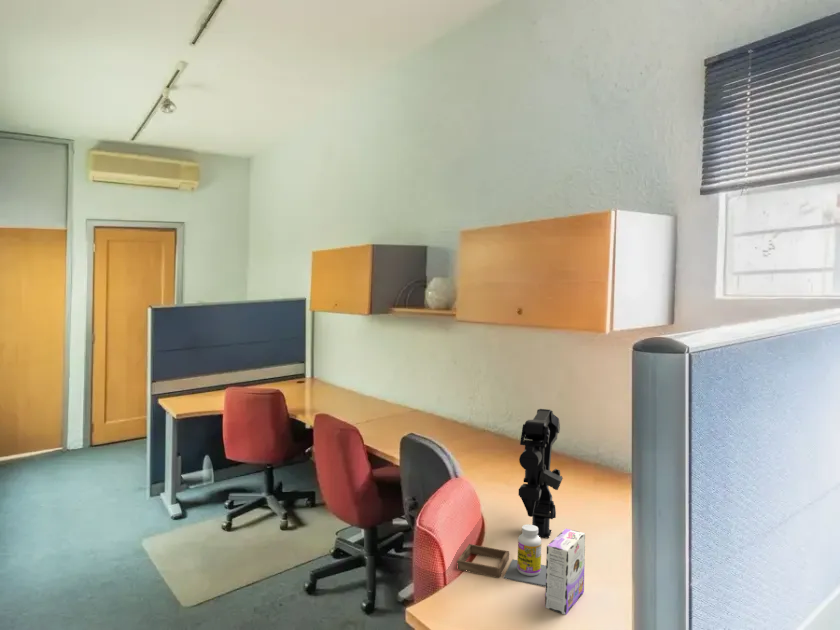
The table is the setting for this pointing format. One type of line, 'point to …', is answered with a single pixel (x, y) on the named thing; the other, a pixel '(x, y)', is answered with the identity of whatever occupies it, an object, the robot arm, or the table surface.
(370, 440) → the table surface
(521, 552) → the supplement bottle
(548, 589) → the candy box
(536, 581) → the mat
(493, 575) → the square frame
